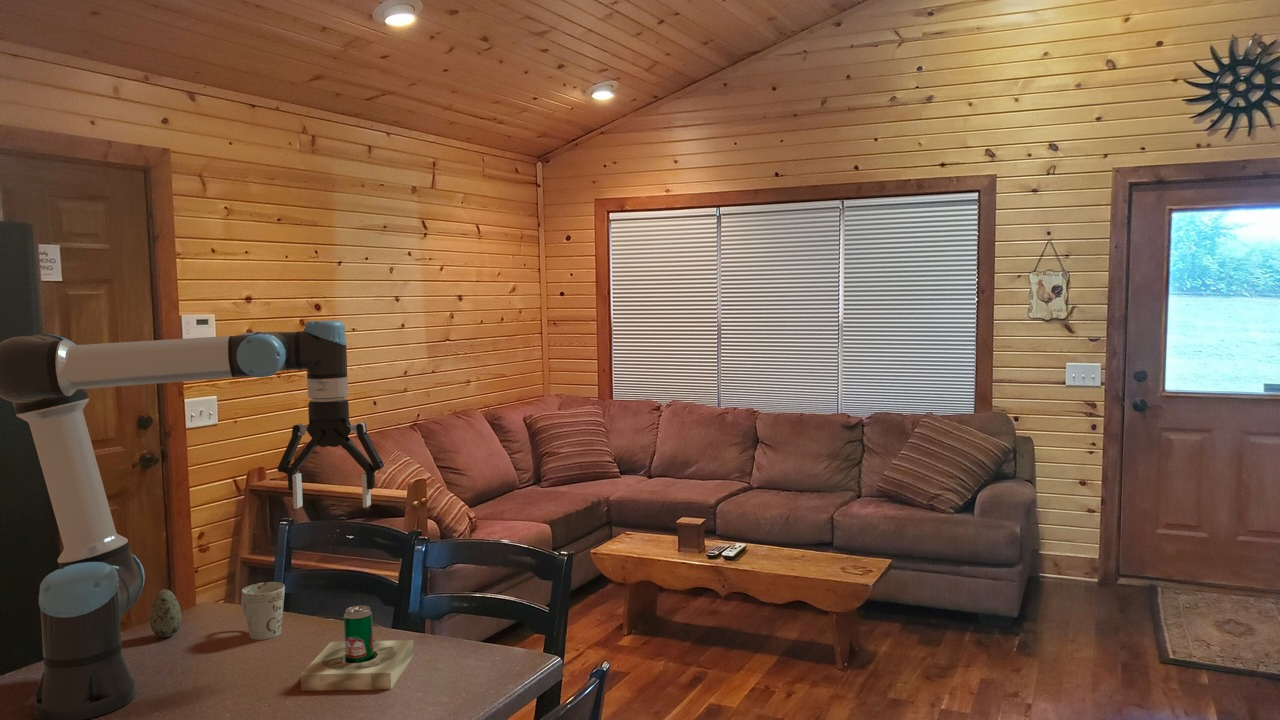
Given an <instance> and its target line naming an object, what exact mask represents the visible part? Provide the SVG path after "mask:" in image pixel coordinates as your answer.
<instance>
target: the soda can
mask: <svg viewBox="0 0 1280 720" xmlns="http://www.w3.org/2000/svg"><path fill="white" fill-rule="evenodd" d="M373 626H374V625H373V613H372V610H371V608H370V606H368V605H353V606H350V607H347V608H346V609H345V613H344V615H343V635H344V638H343V639H344V641H345V662H346V663H362V662H367V661H370V660H372V659H374V649H373V640H374V631H373Z"/></svg>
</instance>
